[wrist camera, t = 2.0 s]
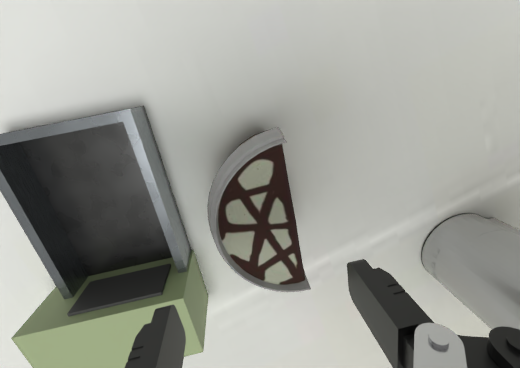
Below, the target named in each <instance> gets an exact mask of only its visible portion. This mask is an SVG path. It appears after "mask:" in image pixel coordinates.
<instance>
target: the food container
mask: <svg viewBox="0 0 520 368" xmlns="http://www.w3.org/2000/svg"><path fill="white" fill-rule="evenodd" d="M285 142H286V140H285V139H284V136H283V134H282V132H281V131H280V129H279V128H278V127H277V128H274V129H271V130H267V131H264V132H262V133H259V134H256V135H254V136H252V137H251V138H249V139H248V140H246V141H245V142H243V143H242V144H240V145H239V147H238V148H237V149H236V150H235V151H234V152H233V153H232V154H231V155H230V156H229V157H228V158H227V159H226V161H225V162H224V163H223V165H222V166H221V167H220V169H219V171H218V173H217V175H216V177H215V178H214V180H213V183H212V186H211V190H210V193H209V199H208V221H209V226H210V230H211V233H212V236H213V239H214V242H215V244H216V246H217V249H218V251H219V252H220V254H221V256H222V257H223V259H224V260H225V261H226V262H227V264H228V265H229V266H230V267H231V268H232V269H233V270H234V271H235V272H236V273H237V274H238V275H240V276H241V277H242V278H243V279H245V280H247V281H248V282H250V283H252V284H254V285H256V286H259V287H262V288H265V289H269V290H273V291H281V292H297V291H304V290H310V289H311V288H310V286H309V283H308V281H307V278H306V275H305V272H304V269H303V264H302V258H301V252H300V246H299V240H298V233H297V226H296V219H295V214H294V209H293V204H292V199H291V193H290V187H289V182H288V176H287V170H286V164H285V159H284V153H283V148H282V143H285Z"/></svg>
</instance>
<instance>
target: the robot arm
mask: <svg viewBox="0 0 520 368" xmlns="http://www.w3.org/2000/svg"><path fill="white" fill-rule="evenodd" d="M422 262H423V265H424V267H425V269H426V270H427V271H428V272H429V273H430V274H431V275H432V276H433V277H434V278H435V279H437V280H438V281H439V282H440V283H441V284H442V285H443V286H444V287H445V288H447V289H448V290H449V291H450V292H451V293H452V294H453V295H454V296H455V297H456V298H457V299H459V300H460V301H461V302H462V303H463V304H464V305H465V306H466V307H467V308H469V309H470V310H471V311H472V312H473V313H474V314H475V315H476V316H477V317H479V318H480V319H481V320H482V321H483V322H484V323H485V324H486V325H487V326H488V327H490V328H491V329H492V330H491V331H490V333H489V338H486V337H470V336H460V335H457V334H455V333H454V332H453V331H452V330H450V329H449V328H447V327H445V326H443V325H440V324H436V323H434V322H433V321H432V320H431V319H430V318H429V317H428V316H427V314H426V313H425V312H424V311H423V310H422V309H421V308H420V307H419V306H418V304H417V303H416V302H415V301H414V300H413V299H412V298H411V297H410V296H409V294H408V293H407V292H405V290H404V289H403V288H402V287H401V286H400V285H399V284H398V282H397V281H396V280H395V279H394V278H393V277H392V276H391V274H389V273H387V272H386V271H384V270H382V269H380V268H376V269H373V268H372V267H371V266H370V265H369V264H368V262H367V261H366V260H364V259H362V260H358V261H353V262H349V263H348V264H347V271H348V284H349V292H350V295H351V298H352V300H353V302H354V304H355V306H356V307H357V309H358V311H359V312H360V314H361V316H362V317H363V319H364V320H365V322H366V324H367V325H368V327H369V329H370V330H371V332H372V334H373V335H374V337H375V339H376V340H377V342H378V343H379V345H380V347H381V348H382V350H383V352H384V353H385V355H386V357H387V358H388V360H389V362H390V363H391V365H392V367H393V368H520V230H518V229H516V228H514V227H512V226H510V225H508V224H506V223H503V222H501V221H499V220H497V219H495V218H490V219H485V218H483V217H481V216H479V215H475V214H462V215H457V216H455V217H452V218H450V219H448V220H446V221H445V222H443V223H441V224H440V225H439V226H438V227H437V228H436V229H435V230H434V231H433V232H432V233H431V234H430V236H429V237H428V239H427V240H426V242H425V245H424V247H423V251H422ZM185 344H186V336H185V330H184V327H183V324H182V322H181V319H180V317H179V314H178V312H177V309H176V307H175V305H169V306H165V307H161V308H157V309H155V311H154V314H153V317H152V320H151V323H148V324H144V326H143V327H142V329H141V330H140V331H139V333H138V334H137V335H136V337H135V340H134V343H133V346H132V348H131V349H132V351H130V354H129V357H128V362H127V363H126V365H125V368H182V365H183V358H184V351H185Z"/></svg>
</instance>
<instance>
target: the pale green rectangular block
mask: <svg viewBox="0 0 520 368" xmlns="http://www.w3.org/2000/svg"><path fill="white" fill-rule="evenodd" d="M207 304H208V294H207V291H206V288H205V285H204V281H203V278H202V275H201V272H200V269H199V266H198V263H197V260H196V257H195V254H194V251H193V250H191V255H190V259H189V264H188V268H187V272H182V273H178V271H177V268H176V265H175V262H174V260H173V257H172V258H167V259H163V260H158V261H154V262H149V263H145V264H140V265H136V266H132V267H127V268H123V269H118V270H114V271H109V272H105V273H101V274H96V275H92V276H88V278H87V279H86V281H85V282H84V283H83V285H82V286H81V287H80V289H79V290H78V291H77V293H76V294H75V295H74V297H73V298H69V299H64V298H63V296H62V295H61V293H60V291H59V290H58V288H57V286H56V288H55V289H54V290H53V291H52V292H51V293H50V294H49V296H48V297H47V298H46V299H45V300H44V301H43V302H42V304H41V305H40V306H39V307H38V308H37V309H36V311H35V312H34V313H33V314H32V315H31V316H30V317H29V319H28V320H27V321H26V322H25V323H24V324H23V326H22V327H21V328H20V329H19V330H18V331H17V332H16V334H15V335H14V336H13V337H12V338H11V339H12V340H13V341H14V343H15V344H16V345H17V347H18V348H19V349H20V351H21V352H22V354H23V355H24V356H25V358H26V359H27V360H28V362H29V363H30V364H31V366H32V367H33V368H125V365H126V363H127V362H128V357H129V354H130V351H132V349H131V348H132V346H133V343H134V340H135V337H136V335H137V334H138V333H139V331H140V330H141V329H142V327H143V326H144V324H148V323H151V320H152V317H153V314H154V311H155V309H157V308H161V307H165V306H169V305H175V307H176V309H177V312H178V314H179V317H180V319H181V322H182V324H183V327H184V330H185V336H186V344H185V351H184V357H185V356H189V355H193V354H197V353H201V352H203V348H204V337H205V326H206V315H207Z"/></svg>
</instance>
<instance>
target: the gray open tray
mask: <svg viewBox="0 0 520 368" xmlns="http://www.w3.org/2000/svg"><path fill="white" fill-rule="evenodd" d="M0 191H1V193H2V194H3V196H4V198H5V199H6V201H7V203H8V204H9V206H10V208H11V210H12V211H13V213H14V215H15V216H16V218H17V220H18V221H19V223H20V225H21V227H22V228H23V230H24V232H25V233H26V235H27V237H28V239H29V240H30V242H31V244H32V245H33V247H34V249H35V250H36V252H37V254H38V256H39V257H40V259H41V261H42V262H43V264H44V266H45V268H46V269H47V271H48V273H49V274H50V276H51V278H52V279H53V281H54V283H55V285H56V286H57V288H58V290H59V291H60V293H61V295H62V296H63V298H64V299H69V298H73V297H74V295H75V294H76V293H77V291H78V290H79V289H80V287H81V286H82V285H83V283H84V282H85V281H86V279H87V278H88V276H92V275H96V274H101V273H105V272H109V271H114V270H118V269H123V268H127V267H132V266H136V265H140V264H145V263H149V262H154V261H158V260H163V259H167V258H172V257H173V260H174V262H175V265H176V268H177V271H178V273H182V272H187V268H188V264H189V259H190V255H191V248H190V245H189V242H188V239H187V236H186V233H185V230H184V227H183V223H182V220H181V217H180V214H179V211H178V208H177V205H176V202H175V199H174V196H173V193H172V190H171V187H170V184H169V181H168V178H167V175H166V172H165V169H164V166H163V163H162V160H161V157H160V154H159V151H158V148H157V145H156V142H155V139H154V136H153V133H152V130H151V127H150V124H149V121H148V118H147V114H146V111H145V108H144V106H141V107H136V108H131V109H126V110H121V111H116V112H111V113H105V114H100V115H95V116H90V117H85V118H80V119H75V120H70V121H65V122H60V123H54V124H49V125H44V126H39V127H34V128H29V129H24V130H19V131H14V132H8V133H3V134H0Z"/></svg>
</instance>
